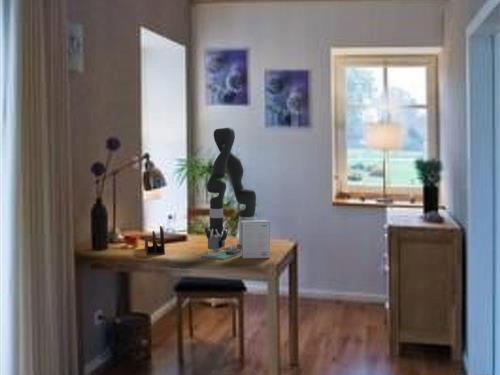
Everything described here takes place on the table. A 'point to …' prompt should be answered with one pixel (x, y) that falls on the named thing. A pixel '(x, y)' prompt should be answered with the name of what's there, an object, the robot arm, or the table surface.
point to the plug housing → (214, 243)
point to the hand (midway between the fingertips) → (216, 246)
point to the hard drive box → (255, 238)
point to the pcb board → (223, 253)
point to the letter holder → (155, 244)
